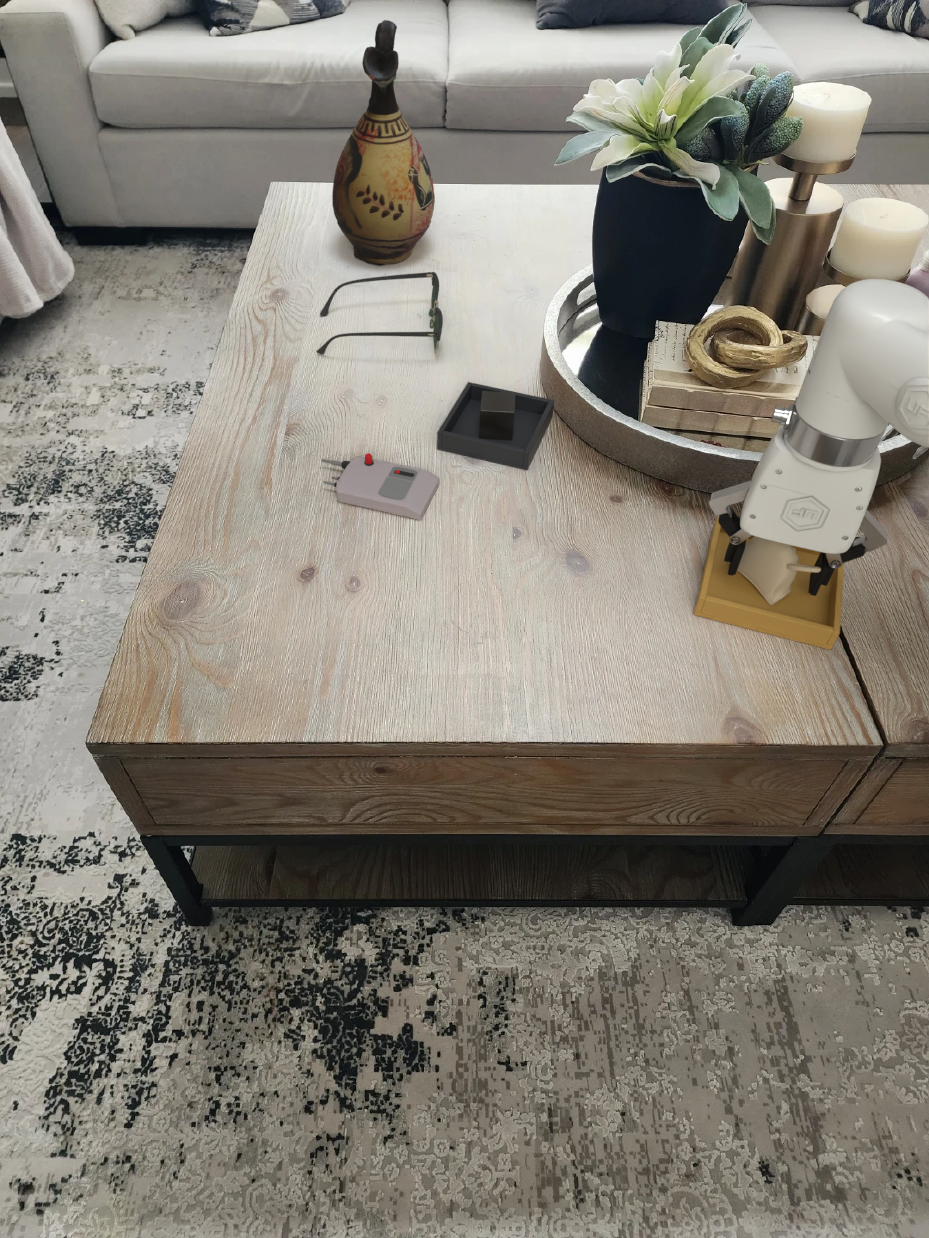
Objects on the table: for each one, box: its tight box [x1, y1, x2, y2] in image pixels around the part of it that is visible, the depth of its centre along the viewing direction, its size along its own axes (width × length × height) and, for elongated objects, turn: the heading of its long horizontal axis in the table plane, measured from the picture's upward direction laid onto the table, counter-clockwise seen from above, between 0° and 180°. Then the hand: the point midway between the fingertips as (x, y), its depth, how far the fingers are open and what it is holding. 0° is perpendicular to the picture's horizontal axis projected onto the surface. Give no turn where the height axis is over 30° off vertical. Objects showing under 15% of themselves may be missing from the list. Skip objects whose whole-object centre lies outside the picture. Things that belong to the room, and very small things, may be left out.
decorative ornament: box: [728, 536, 821, 605], centre depth 84 cm, size 4×8×5 cm, turn 26°
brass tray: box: [693, 516, 845, 651], centre depth 86 cm, size 13×13×2 cm
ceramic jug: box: [331, 19, 436, 266], centre depth 123 cm, size 17×15×30 cm
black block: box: [479, 391, 515, 440], centre depth 101 cm, size 4×4×4 cm
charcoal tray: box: [436, 381, 555, 471], centre depth 102 cm, size 11×11×2 cm
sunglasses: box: [316, 271, 444, 355], centre depth 116 cm, size 16×17×5 cm
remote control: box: [320, 452, 452, 521], centre depth 94 cm, size 7×16×3 cm, turn 73°
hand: (772, 575), depth 86 cm, fingers closed on decorative ornament, 7 cm apart
